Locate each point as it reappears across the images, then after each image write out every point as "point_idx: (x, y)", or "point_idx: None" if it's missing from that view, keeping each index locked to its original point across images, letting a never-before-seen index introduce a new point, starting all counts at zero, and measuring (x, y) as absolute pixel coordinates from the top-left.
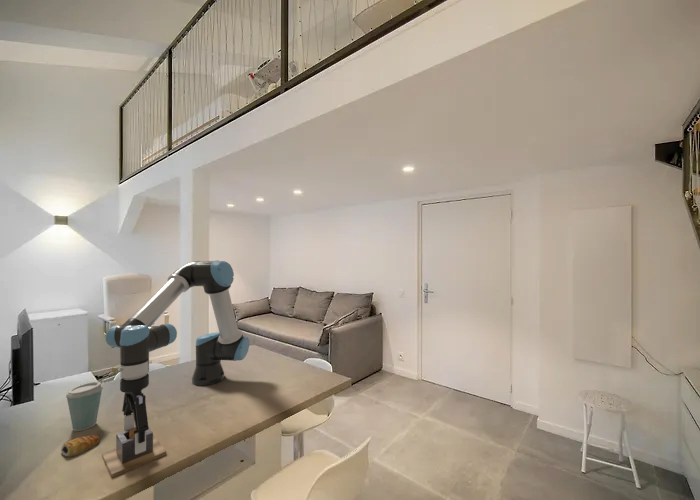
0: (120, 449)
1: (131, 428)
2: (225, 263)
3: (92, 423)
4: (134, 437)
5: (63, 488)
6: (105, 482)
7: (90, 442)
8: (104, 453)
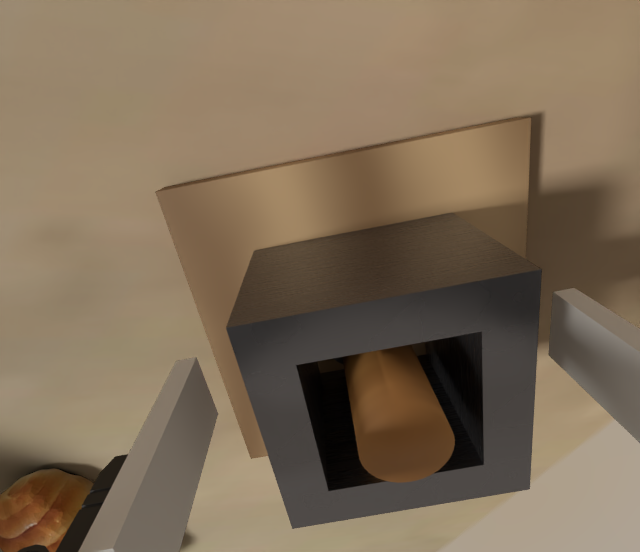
0: None
1: (188, 417)
2: None
3: None
4: (494, 420)
5: (430, 528)
6: None
7: None
8: (255, 450)
